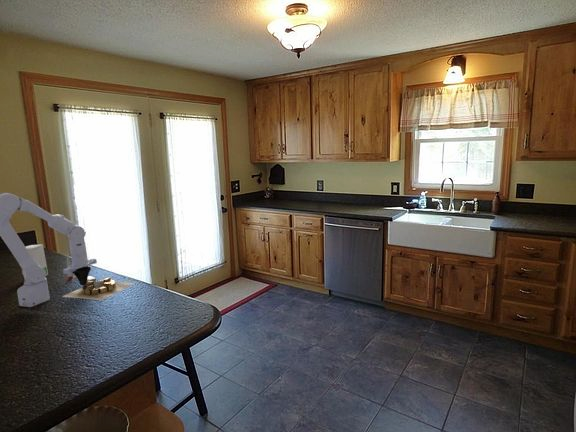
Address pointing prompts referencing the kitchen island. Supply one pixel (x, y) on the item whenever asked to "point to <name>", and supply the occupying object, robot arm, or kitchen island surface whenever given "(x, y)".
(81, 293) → the spindle board
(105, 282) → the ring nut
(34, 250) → the skincare box
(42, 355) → the kitchen island surface
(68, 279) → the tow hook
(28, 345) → the kitchen island surface
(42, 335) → the kitchen island surface
